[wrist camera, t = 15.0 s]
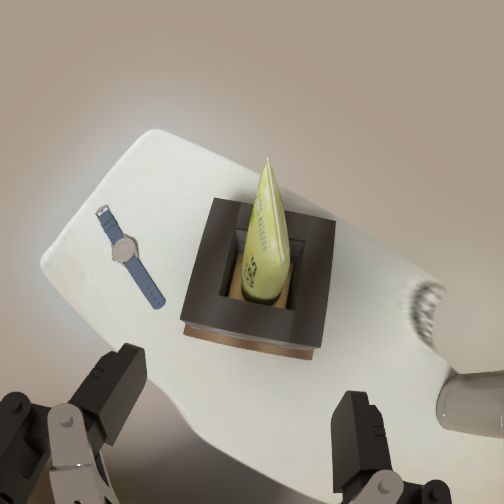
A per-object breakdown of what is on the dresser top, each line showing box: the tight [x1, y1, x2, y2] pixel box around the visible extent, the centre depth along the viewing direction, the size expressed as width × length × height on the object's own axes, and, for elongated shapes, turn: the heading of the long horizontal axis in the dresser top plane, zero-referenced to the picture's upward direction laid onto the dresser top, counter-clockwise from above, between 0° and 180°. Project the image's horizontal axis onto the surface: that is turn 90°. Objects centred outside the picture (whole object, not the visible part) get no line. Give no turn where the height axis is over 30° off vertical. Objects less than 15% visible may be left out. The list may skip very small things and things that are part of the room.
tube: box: [241, 158, 290, 306], centre depth 27 cm, size 6×5×20 cm
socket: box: [180, 198, 336, 360], centre depth 34 cm, size 16×16×9 cm
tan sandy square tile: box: [228, 253, 293, 309], centre depth 36 cm, size 7×7×1 cm
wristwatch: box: [95, 205, 165, 309], centre depth 39 cm, size 4×20×1 cm, turn 39°
